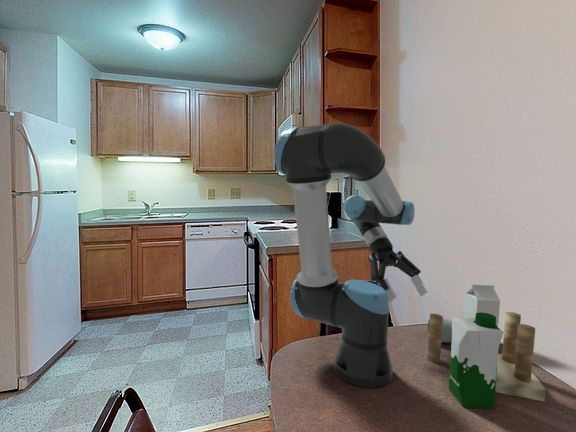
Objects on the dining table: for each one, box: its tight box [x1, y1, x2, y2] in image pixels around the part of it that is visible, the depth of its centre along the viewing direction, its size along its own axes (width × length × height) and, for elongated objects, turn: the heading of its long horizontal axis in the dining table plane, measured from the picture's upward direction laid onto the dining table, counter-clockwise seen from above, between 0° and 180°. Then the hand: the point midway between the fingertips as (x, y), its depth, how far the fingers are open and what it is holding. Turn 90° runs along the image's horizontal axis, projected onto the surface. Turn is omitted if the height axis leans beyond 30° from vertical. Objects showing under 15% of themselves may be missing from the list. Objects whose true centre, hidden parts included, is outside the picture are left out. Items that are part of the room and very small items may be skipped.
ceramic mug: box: [427, 318, 452, 344], centre depth 106 cm, size 11×8×8 cm
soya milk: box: [448, 313, 504, 410], centre depth 74 cm, size 9×9×20 cm
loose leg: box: [426, 313, 444, 364], centre depth 91 cm, size 3×3×13 cm
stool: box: [496, 311, 547, 402], centre depth 83 cm, size 16×16×16 cm
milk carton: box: [463, 284, 501, 328], centre depth 104 cm, size 7×7×19 cm
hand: (409, 296), depth 100 cm, fingers open, 13 cm apart
